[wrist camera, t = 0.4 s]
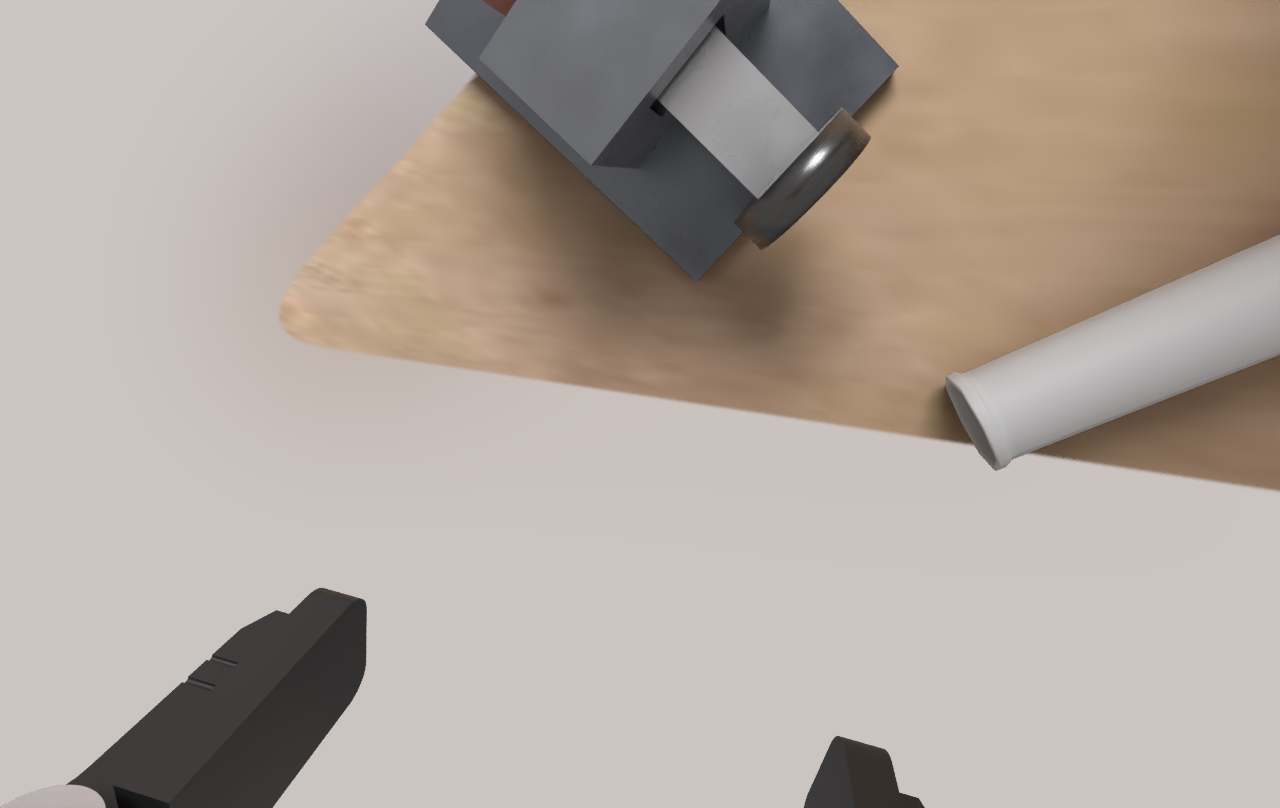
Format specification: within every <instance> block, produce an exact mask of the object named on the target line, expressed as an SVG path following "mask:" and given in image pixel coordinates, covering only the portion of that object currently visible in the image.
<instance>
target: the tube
mask: <svg viewBox="0 0 1280 808" xmlns="http://www.w3.org/2000/svg"><path fill="white" fill-rule="evenodd" d="M1278 355H1280V234H1279V235H1277V236H1275V237H1272V238H1270V239H1268V240H1265V241H1263V242H1261V243H1259V244H1256V245H1254V246H1252V247H1250V248H1247V249H1245V250H1243V251H1240V252H1238V253H1236V254H1234V255H1231V256H1229V257H1227V258H1224V259H1222V260H1220V261H1218V262H1215V263H1213V264H1211V265H1209V266H1206V267H1204V268H1202V269H1199V270H1197V271H1195V272H1193V273H1190V274H1188V275H1186V276H1184V277H1181V278H1179V279H1177V280H1174V281H1172V282H1170V283H1168V284H1165V285H1163V286H1161V287H1159V288H1156V289H1154V290H1152V291H1149V292H1147V293H1145V294H1143V295H1140V296H1138V297H1136V298H1134V299H1131V300H1129V301H1127V302H1124V303H1122V304H1120V305H1118V306H1115V307H1113V308H1111V309H1109V310H1106V311H1104V312H1102V313H1099V314H1097V315H1095V316H1093V317H1090V318H1088V319H1086V320H1084V321H1081V322H1079V323H1077V324H1074V325H1072V326H1070V327H1068V328H1065V329H1063V330H1061V331H1059V332H1056V333H1054V334H1052V335H1049V336H1047V337H1045V338H1043V339H1040V340H1038V341H1036V342H1034V343H1031V344H1029V345H1027V346H1024V347H1022V348H1020V349H1018V350H1015V351H1013V352H1011V353H1009V354H1006V355H1004V356H1002V357H999V358H997V359H995V360H993V361H990V362H988V363H986V364H984V365H981V366H979V367H977V368H974V369H972V370H970V371H967V372H964V373H958V372H954V373H951V374H949V375H947V376H946V383H945V387H946V389H947V392H948V394H949V396H950V398H951V401H952V403H953V405H954V407H955V409H956V412H957V414H958V416H959V418H960V420H961V423H962V424H963V426H964V428H965V430H966V431H967V433H968V435H969V437H970V438H971V440H972V442H973V444H974V445H975V447H976V449H977V450H978V452H979V454H980V455H981V456H982V457H983V458H984V459H985V460H986V461H987V462H988V464H989V465H991V467H992V468H993V469H994V470H996V471H997V470H999V469H1001V468H1004V467H1006V466H1007V465H1008V464H1009V463H1010V462H1011V460H1012V459H1014V458H1017V457H1019V456H1022V455H1024V454H1027V453H1030V452H1032V451H1035V450H1037V449H1040V448H1042V447H1045V446H1048V445H1050V444H1053V443H1055V442H1058V441H1060V440H1063V439H1065V438H1068V437H1071V436H1073V435H1076V434H1078V433H1081V432H1083V431H1086V430H1089V429H1091V428H1094V427H1096V426H1099V425H1101V424H1104V423H1106V422H1109V421H1112V420H1114V419H1117V418H1119V417H1122V416H1124V415H1127V414H1130V413H1132V412H1135V411H1137V410H1140V409H1142V408H1145V407H1148V406H1150V405H1153V404H1155V403H1158V402H1160V401H1163V400H1165V399H1168V398H1171V397H1173V396H1176V395H1178V394H1181V393H1183V392H1186V391H1189V390H1191V389H1194V388H1196V387H1199V386H1201V385H1204V384H1206V383H1209V382H1212V381H1214V380H1217V379H1219V378H1222V377H1224V376H1227V375H1230V374H1232V373H1235V372H1237V371H1240V370H1242V369H1245V368H1247V367H1250V366H1253V365H1255V364H1258V363H1260V362H1263V361H1265V360H1268V359H1271V358H1273V357H1276V356H1278Z"/></svg>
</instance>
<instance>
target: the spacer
mask: <svg viewBox="0 0 1280 808" xmlns="http://www.w3.org/2000/svg"><path fill="white" fill-rule="evenodd" d="M482 1H484V2H485V3H486V4H488V5H489V6H491V7H492V8H494V9H495V10H497V11H498V12H500V13H501V14H503V15H504V16H505V17H506V15H507V14H508V12H509V11H510V9H511V8H512V6H513V5H514V3H515V2H516V0H482Z"/></svg>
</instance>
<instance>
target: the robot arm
mask: <svg viewBox="0 0 1280 808" xmlns="http://www.w3.org/2000/svg"><path fill="white" fill-rule="evenodd" d="M366 616H367V607H366V603H365V601H364V600H363V599H360V598H356V597H353V596H350V595H346V594H342V593H339V592H336V591H332V590H328V589H325V588H318V589H316V590H314V591H313V592H312V593H310V594H309V595H308V596H307V597H306V598H305V599H304V600H303V601H302V602H301V603H300V604H299V605H298V606H297V607H296V608H295V609H294V610H293V611H292V612H291V613H290V614H287V613H284V612H280V611H277V610H276V611H274V612H272V613H270V614H268V615H267V616H265V617H263V618H261V619H259V620H257V621H255V622H253V623H252V624H249V625H248V626H246V627H244V628H242V629H240V630H239V631H238V632H237V633H236V634H235V635H234V636H233V637H231V638H230V639H229V640H228V641H227V642H226V643H225V644H224V645H223V646H222V647H221V648H219V650H217V651H216V652H215V653H214V654H213V655H212V658H211V659H210V660H209V661H208V660H206V661H205V662H204V663H203V664H202V665H201V666H200V667H198V668H197V670H195V671H194V672H193V673H192V674H191V675H190V676H189V677H188V680H187V681H186V682H185V683H183V682H182V683H181V684H180V685H179V686H178V687H176V688H175V689H174V690H173V691H172V692H171V693H170V694H169V695H168V696H167V697H165V698H164V699H163V700H162V701H161V702H160V703H159V704H158V705H157V706H156V707H155V708H154V709H152V710H151V711H150V712H149V713H148V714H147V715H146V716H145V717H143V718H142V719H141V720H140V721H139V722H138V723H137V724H136V725H135V726H134V727H133V728H131V729H130V730H129V731H128V732H127V733H126V734H125V735H124V736H123V737H121V738H120V739H119V740H118V741H117V742H116V743H115V744H114V745H113V746H112V747H111V748H109V749H108V750H107V751H106V752H105V753H104V754H103V755H102V756H101V757H99V758H98V759H97V760H96V761H95V762H94V763H93V764H92V765H91V766H90V767H88V768H87V769H86V770H85V771H84V772H83V773H81V774H80V775H79V776H78V777H77V778H75V779H74V780H72V781H71V782H69V783H68V784H66V785H58V786H53V787H48V788H43V789H40V790H37V791H33V792H31V793H28V794H25V795H23V796H21V797H18V798H16V799H14V800H12V801H10V802H8V803H6V804H4V805H2V806H1V807H0V808H273V806H274V805H275V803H276V802H277V801H278V799H279V798H280V797H281V795H282V794H283V793H284V791H285V790H286V789H287V787H288V786H289V785H290V783H291V782H292V781H293V779H294V778H295V777H296V775H297V774H298V773H299V771H300V770H301V769H302V767H303V766H304V765H305V763H306V762H307V760H308V759H309V758H310V756H311V755H312V754H313V752H314V751H315V750H316V748H317V747H318V746H319V744H320V743H321V742H322V740H323V739H324V738H325V736H326V735H327V734H328V732H329V731H330V729H331V728H332V727H333V725H334V724H335V723H336V721H337V720H338V719H339V718H340V716H341V715H342V713H343V712H344V711H345V709H346V708H347V706H348V705H349V704H350V703H351V701H352V700H353V698H354V696H355V694H356V692H357V691H358V688H359V686H360V684H361V681H362V679H363V676H364V672H365V667H366V621H367V617H366ZM804 808H924V806H923V805H922V803H921V801H920V800H919V798H916V797H913V796H909V795H906V794H902V793H899V790H898V786H897V782H896V778H895V773H894V769H893V765H892V761H891V758H890V756H889V754H888V752H887V751H886V750H885V749H882V748H878V747H875V746H871V745H868V744H864V743H861V742H858V741H854V740H850V739H847V738H843V737H840V736H836V737H835V738H834V739H833V741H832V742H831V744H830V746H829V749H828V751H827V753H826V755H825V757H824V760H823V762H822V764H821V766H820V769H819V771H818V773H817V775H816V778H815V780H814V782H813V784H812V786H811V788H810V791H809V793H808V795H807V798H806V801H805V806H804Z"/></svg>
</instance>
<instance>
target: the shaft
mask: <svg viewBox="0 0 1280 808" xmlns="http://www.w3.org/2000/svg"><path fill="white" fill-rule="evenodd" d="M657 100H658V101H659V102H660V103H661V104H662V105H663V106H664V107H665V108H666V109H667V110H668V111H670V112H671V113H672V114H673V115H674V116H675V117H676V118H677V119H678V120H679V121H680V122H681V123H682V124H683V125H684V126H685V127H686V128H687V129H688V130H689V131H690V132H691V133H692V134H693V135H694V136H695V137H696V138H697V139H698V140H699V141H700V142H701V143H702V144H703V145H704V146H705V147H706V148H707V149H708V150H709V151H710V152H711V153H712V154H713V155H714V156H715V157H716V158H717V159H718V160H719V161H720V162H721V163H722V164H723V165H724V166H725V167H726V168H727V169H728V170H729V171H730V172H731V173H732V174H733V175H734V176H735V177H736V178H737V179H738V180H739V181H740V182H741V183H742V184H743V185H744V186H745V187H746V188H747V189H748V190H749V191H750V192H751V193H752V194H753V195H754V196H755V197H754V198H753V200H752V201H751V202H750V203H749V204H748V205H747V207H746V208H745V209H744V210H743V211H742V212H741V214H740V215H739V216H738V217H737V219H736V220H735V222H734V224H735V225H736V226H737V227H738V228H739V229H740V230H741V231H742V232H743V233H744V234H745V235H746V236H747V237H748V238H749V239H750V240H751V241H752V242H753V243H754V244H755V245H756V246H757V247H758V248H759V249H764V248H766V247H767V246H769V245H770V244H771V243H773V242H774V241H775V240H776V239H778V238H779V237H780V236H781V235H782V234H784V233H785V232H786V231H787V230H788V229H789V228H790V227H791V226H792V225H793V224H795V223H796V222H797V221H798V220H799V219H800V218H801V217H802V216H803V215H804V214H805V213H806V212H807V211H808V210H809V209H810V208H811V207H812V206H813V205H814V204H815V203H816V202H817V201H818V200H819V199H820V198H821V197H822V196H823V195H824V194H825V193H826V192H827V191H828V190H829V189H830V188H831V187H832V186H833V185H834V183H835V182H836V181H837V180H838V179H839V178H840V177H841V176H842V175H843V174H844V172H845V171H846V170H847V169H848V168H849V167H850V166H851V164H852V163H853V162H854V161H855V160H856V159H857V157H858V156H859V155H860V154H861V152H862V151H863V150H864V148H865V147H866V145H867V144H868V143H869V141H870V139H871V136H870V135H869V134H868V133H867V132H866V131H865V130H864V129H863V128H862V127H861V126H860V125H859V124H858V123H857V121H856V120H855V119H854V118H853V117H852V116H851V115H850V114H849V113H848V112H847V111H846V110H845V109H844V108H843V107H841V108H839V109H838V110H837V111H836V112H835V113H834V114H833V115H832V116H831V117H830V118H829V119H828V120H827V121H826V122H825V123H824V124H823V125H822V126H821V127H820V128H819V129H818V130H816V129H815V128H814V127H813V126H812V125H811V124H810V123H809V122H808V121H807V120H806V119H805V118H804V117H803V116H802V115H801V114H800V113H799V112H798V111H797V110H796V109H795V108H794V107H793V106H792V104H791V103H790V102H789V101H788V100H787V99H786V98H785V97H784V96H783V95H782V94H781V93H780V92H779V91H778V90H777V89H776V88H775V87H774V86H773V85H772V84H771V83H770V82H769V81H768V80H767V79H766V78H765V77H764V76H763V75H762V74H761V73H760V72H759V70H758V69H757V68H756V67H755V66H754V65H753V64H752V63H751V62H750V61H749V60H748V59H747V58H746V57H745V56H744V55H743V54H742V53H741V52H740V51H739V50H738V49H737V48H736V47H735V46H734V45H733V44H732V43H731V42H730V41H729V40H728V39H727V38H726V36H725V35H724V34H723V33H722V32H721V31H720V30H719V29H718V28H717V27H716V26H714V27H713V28H712V29H711V31H710V32H709V33H708V34H707V36H706V37H705V38H704V39H703V41H702V42H701V43H700V45H699V46H698V47H697V48H696V50H695V51H694V52H693V53H692V55H691V56H690V57H689V58H688V60H687V61H686V62H685V64H684V65H683V66H682V67H681V69H680V70H679V71H678V72H677V74H676V75H675V76H674V77H673V79H672V80H671V81H670V82H669V84H668V85H667V86H666V88H665V89H664V90H663V91H662V93H661V94H660V95H659V96H658V98H657Z"/></svg>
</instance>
